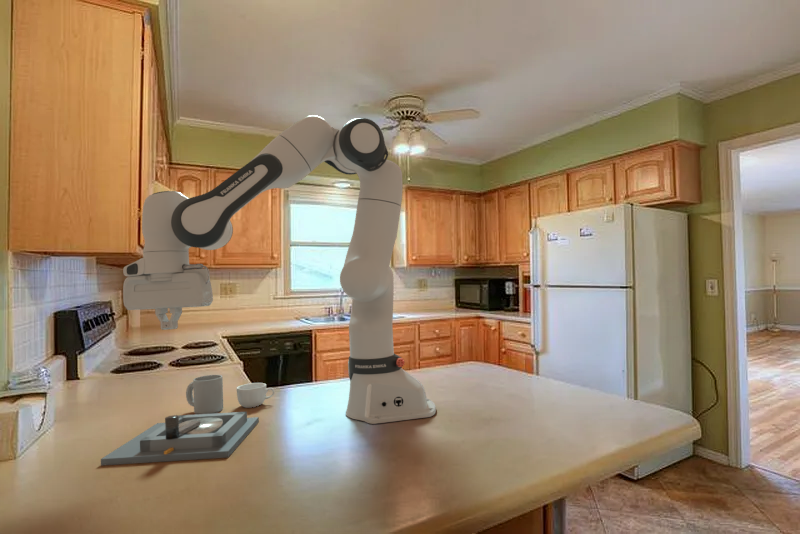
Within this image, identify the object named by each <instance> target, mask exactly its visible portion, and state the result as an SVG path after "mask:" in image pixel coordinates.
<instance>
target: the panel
mask: <svg viewBox="0 0 800 534" xmlns="http://www.w3.org/2000/svg"><path fill="white" fill-rule="evenodd" d="M178 416H179V424H180V423H182V422H185V421H189V420H193V419H199V418H210V417H213V418H220V419H222V420H223V427H221V428H220V429H219V430H218V431H217V432H216V433H205V434H188V435H180V436H179V437H178V438H175V439H171V440H167V439H166V434H165V422H157V423H155V424H153V425H152V426H151V427H149V428H147V429H145V430H144V431H143V432H141V433H139V434H138V435H136V436H135V437H133V438H132V439H130V440H128V441H127V442H126V443H124V444H122V445H120V446H119V447H117V448H116V449H114V450H113V451H111V452H109V453H107V454H106V455H105V456H104V457H102V458H100V466H113V465H127V464H145V463H160V462H161V463H162V462H163V463H164V462H174V461H175V462H176V461H190V460H191V461H192V460H194V461H195V460H206V459H208V460H210V459H223V458H224V459H225V458H230V456H231V455H232V454H233V452H235V450H236V449H237V448H238V447H239V446H240V445H241V444H242V442H243V441H244V440H245V438H247V436H248V435H249V434H250V433H251V432H252V430H253V429H254V428H255V427H257V425H258V424H259V422H260V421H259V420H260V419H259V416H256V417H255V416H254V417H252V416H251V417H248V412H247V411H236V412H235V411H233V412H217V413H214V414H183V415H182V414H181V415H178Z"/></svg>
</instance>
